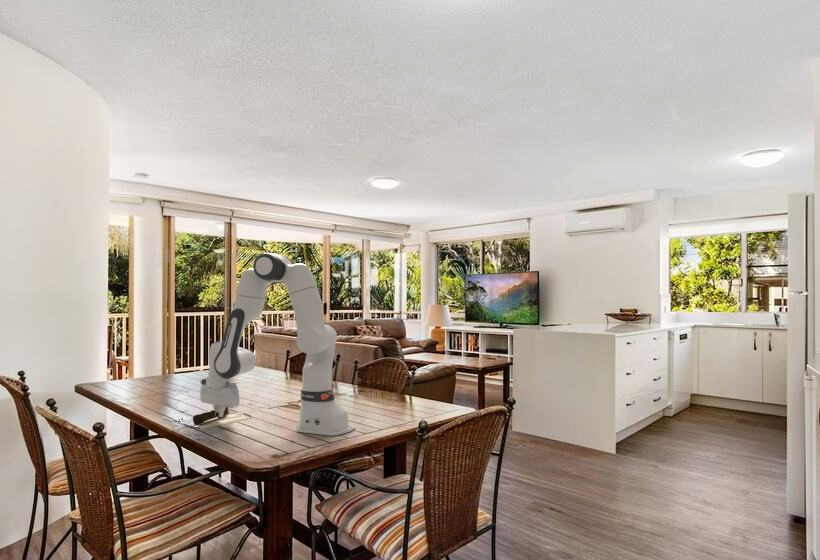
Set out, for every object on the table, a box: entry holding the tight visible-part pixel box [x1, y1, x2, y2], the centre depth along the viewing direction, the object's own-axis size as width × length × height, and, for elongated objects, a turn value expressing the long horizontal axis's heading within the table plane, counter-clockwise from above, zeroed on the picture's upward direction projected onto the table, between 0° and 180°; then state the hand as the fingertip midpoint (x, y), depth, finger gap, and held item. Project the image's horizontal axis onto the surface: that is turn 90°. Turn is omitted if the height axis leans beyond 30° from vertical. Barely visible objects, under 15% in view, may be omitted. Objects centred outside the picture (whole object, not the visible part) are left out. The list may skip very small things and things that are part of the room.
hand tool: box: [193, 407, 230, 425], centre depth 196 cm, size 19×4×5 cm, turn 162°
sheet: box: [179, 409, 252, 430], centre depth 199 cm, size 28×22×1 cm
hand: (219, 416), depth 195 cm, fingers closed
